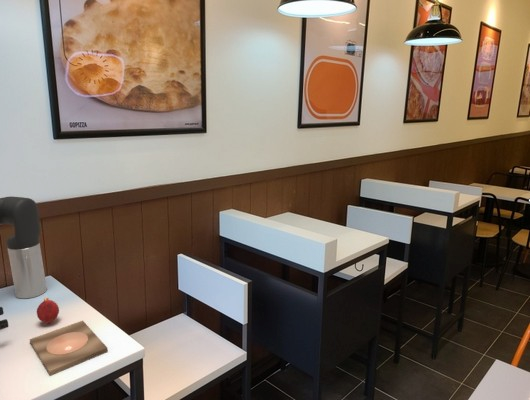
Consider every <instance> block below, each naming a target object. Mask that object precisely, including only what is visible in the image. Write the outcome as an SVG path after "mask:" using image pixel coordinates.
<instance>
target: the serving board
mask: <svg viewBox="0 0 530 400" xmlns="http://www.w3.org/2000/svg"><path fill="white" fill-rule="evenodd" d="M29 343H30V345H31V347H32V349H33V351H34V352H35V354H36V355H37V357H38V358H39V360H40V362H41V363H42V365H43V367H44V368H45V370H46V371H47V373H48V375H49V376H50V377H51V376H52V375H56V374H57V373H59V372H63V371H65V370H67V369H70V368H72V367H74V366H77V365H79V364H81V363H84V362H87V361H88V360H91V359H94V358H96V357H99V356H100V355H103V354H105V353H108V351H109V350H108V347H107V346H106V344H105V343H104V342H103V341H102V340H101V339H100V337H98V336H97V334H96V333H95V332H94V331H93V330H92V329H91V328H90V327H89V325H88V324H87V323H86V322H85V321H84V320H80V321H77V322H74V323H72V324H69V325H66V326H63V327H60V328H58V329H54V330H52V331H49V332H46V333H43V334H40V335H39V336H35V337H32V338H30V339H29Z"/></svg>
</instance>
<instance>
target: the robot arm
mask: <svg viewBox="0 0 530 400" xmlns="http://www.w3.org/2000/svg"><path fill="white" fill-rule="evenodd" d="M39 211H40V210H39V208H38V205H37V202H36V201H35V200H34V199H33V198H29V197H22V196H3V197H0V225H8V226H14V227H13V228H14V234H12V235H10V236H8V237H7V239H6V247H7V254H8V259H9V264H10V270H11V276H12V282H13V288H14V293H15V294H14V295H15V297H16V298H18V299H31V298H36V297H38V296H40V295H43V294H44V293H45V292H46V291H47V290H48V289H47V283H46V282H47V281H46V275H45V268H44V263H43V257H42V250H41V244H40V236H41V223H40V213H39ZM2 315H4V308H3V306H0V316H2ZM8 327H9V322H8V319H6V318H5V319H2V320H0V331H1V330H3V329H7V328H8Z"/></svg>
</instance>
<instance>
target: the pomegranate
mask: <svg viewBox="0 0 530 400" xmlns="http://www.w3.org/2000/svg"><path fill="white" fill-rule="evenodd" d="M59 313H60V307H59V305H58V303H57V302H55V301H53V300H51V299H49V297H47V296H46V297H44V299H43V301H42V302H41V303H40V304H39V305H38V307H37V308H36V316H37V318H38V319H39V320H40V322H42V323H47V324H51V323H52V322H53V321H54V320H56V319H57V318H58V315H59Z"/></svg>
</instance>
